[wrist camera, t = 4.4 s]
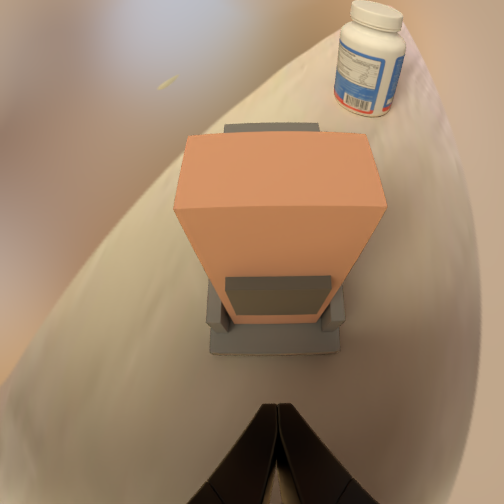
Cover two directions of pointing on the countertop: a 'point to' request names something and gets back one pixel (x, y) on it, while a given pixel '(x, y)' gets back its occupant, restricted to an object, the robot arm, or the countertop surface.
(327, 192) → the orange tall block
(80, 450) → the countertop surface
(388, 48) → the pill bottle
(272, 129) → the switch base
